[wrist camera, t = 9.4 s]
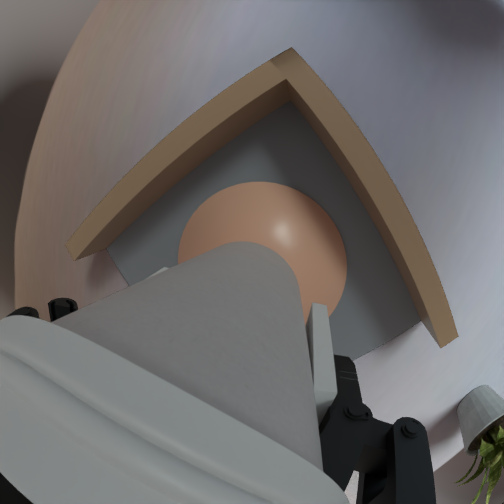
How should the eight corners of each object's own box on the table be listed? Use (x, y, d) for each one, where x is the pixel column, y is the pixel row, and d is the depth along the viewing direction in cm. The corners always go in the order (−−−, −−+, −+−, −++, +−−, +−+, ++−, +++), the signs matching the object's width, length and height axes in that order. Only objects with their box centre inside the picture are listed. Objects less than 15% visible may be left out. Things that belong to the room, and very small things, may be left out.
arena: (295, 76, 17) (291, 46, 13) (433, 307, 20) (458, 336, 15) (101, 233, 24) (64, 244, 19) (232, 406, 26) (219, 440, 21)
